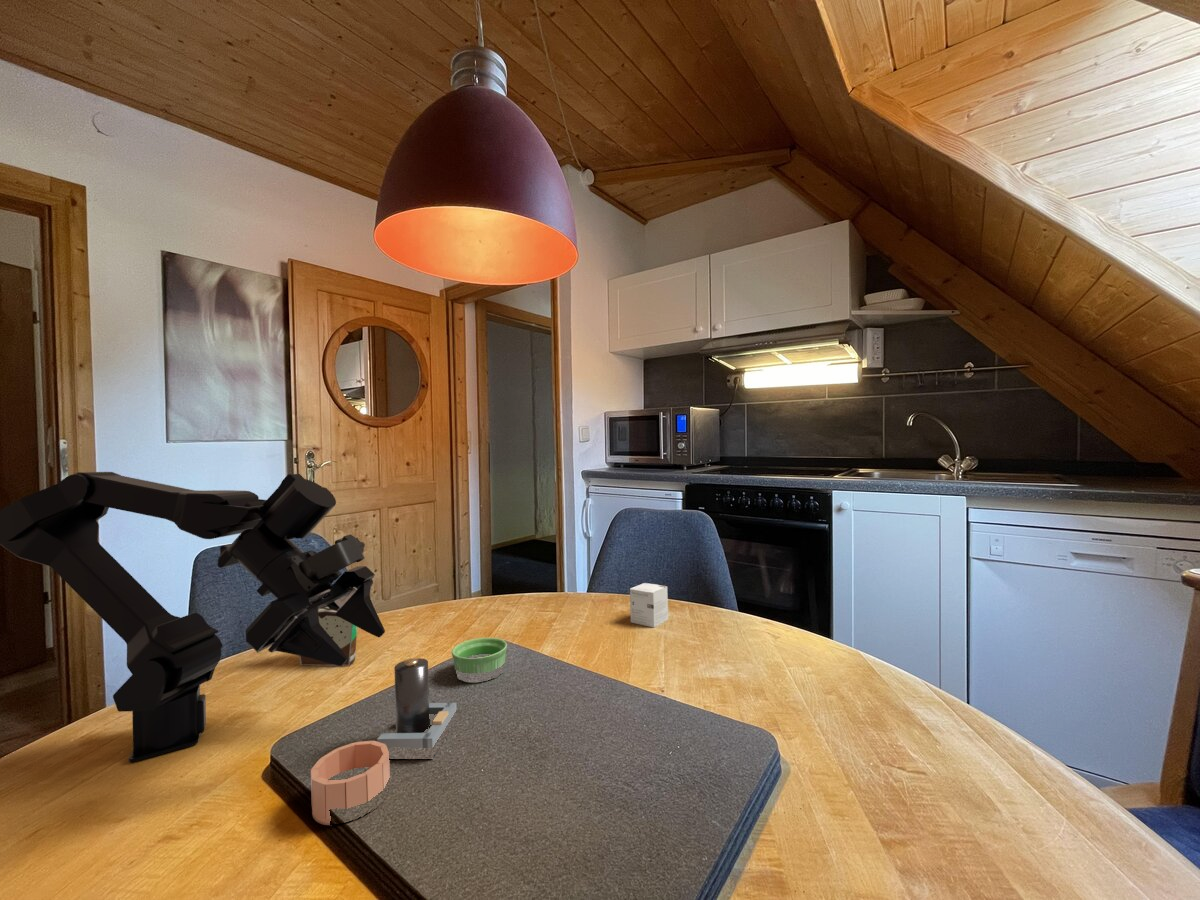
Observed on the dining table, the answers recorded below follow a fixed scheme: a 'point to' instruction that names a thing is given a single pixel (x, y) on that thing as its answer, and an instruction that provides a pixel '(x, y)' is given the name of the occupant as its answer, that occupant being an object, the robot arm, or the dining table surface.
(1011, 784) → the dining table surface
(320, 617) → the food container
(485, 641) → the ramekin
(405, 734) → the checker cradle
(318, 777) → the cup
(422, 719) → the cylinder
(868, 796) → the dining table surface
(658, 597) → the skincare box
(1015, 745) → the dining table surface
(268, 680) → the dining table surface
